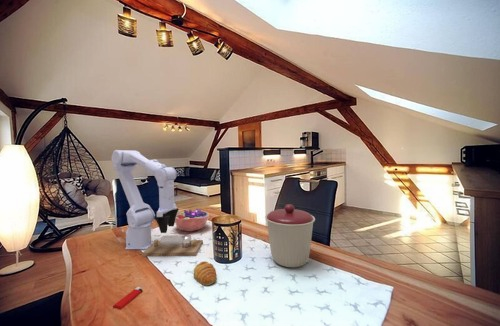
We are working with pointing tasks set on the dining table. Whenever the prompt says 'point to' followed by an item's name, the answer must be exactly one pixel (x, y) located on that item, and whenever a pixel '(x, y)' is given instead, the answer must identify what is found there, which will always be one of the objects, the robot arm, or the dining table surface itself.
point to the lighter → (128, 298)
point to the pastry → (205, 273)
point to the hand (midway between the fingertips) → (167, 229)
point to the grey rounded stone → (175, 241)
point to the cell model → (191, 220)
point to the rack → (173, 249)
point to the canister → (290, 235)
